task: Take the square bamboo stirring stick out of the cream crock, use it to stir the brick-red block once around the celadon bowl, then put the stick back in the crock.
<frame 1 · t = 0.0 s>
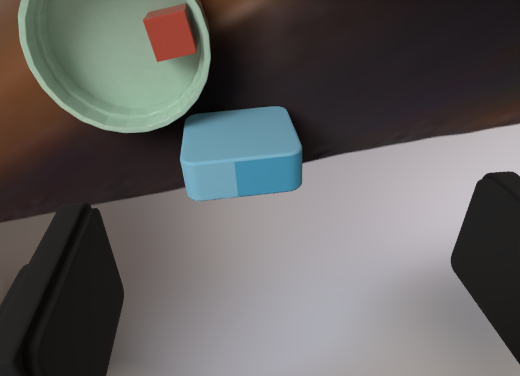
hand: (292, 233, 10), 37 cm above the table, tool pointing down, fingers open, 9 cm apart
bowl: (127, 37, 41), on the table
block: (173, 28, 41), resting on bowl
data package: (237, 125, 48), on the table
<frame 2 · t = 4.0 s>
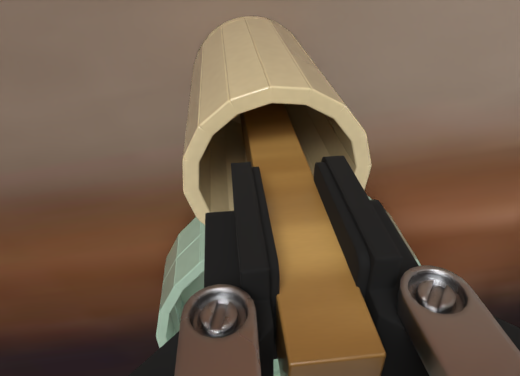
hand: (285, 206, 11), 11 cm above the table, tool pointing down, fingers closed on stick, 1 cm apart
bowl: (284, 274, 29), on the table
crock: (250, 75, 20), on the table
stick: (251, 79, 20), point 1 cm above the table, touching crock, gripper
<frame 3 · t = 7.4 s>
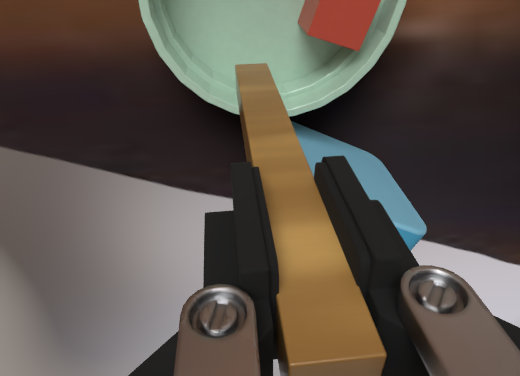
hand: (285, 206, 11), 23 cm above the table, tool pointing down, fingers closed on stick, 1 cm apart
block: (330, 3, 30), resting on bowl
stick: (251, 79, 20), point 13 cm above the table, touching gripper
data package: (314, 153, 38), on the table
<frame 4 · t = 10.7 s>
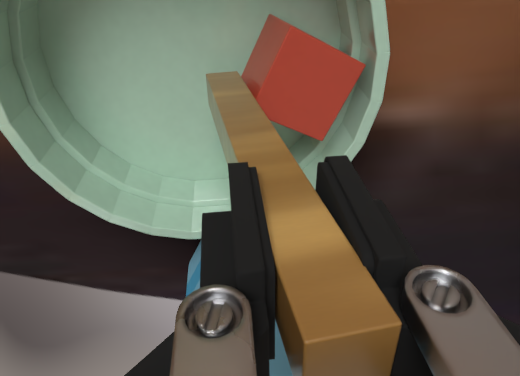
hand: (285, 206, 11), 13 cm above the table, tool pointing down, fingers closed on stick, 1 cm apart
bowl: (196, 55, 21), on the table
block: (285, 67, 21), point 1 cm above the table, tilted 8°, touching bowl, stick
stick: (222, 88, 20), point 2 cm above the table, tilted 8°, touching block, gripper
data package: (274, 250, 30), on the table
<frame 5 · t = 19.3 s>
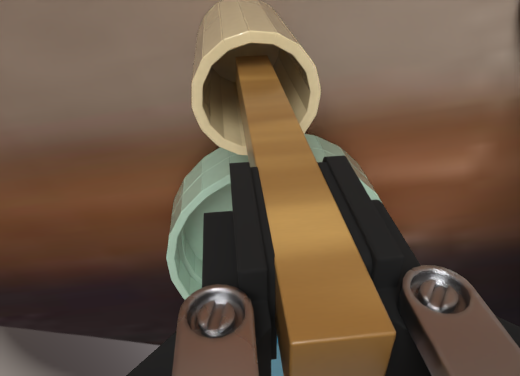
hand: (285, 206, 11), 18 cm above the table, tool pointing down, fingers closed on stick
bowl: (272, 218, 34), on the table
crock: (241, 43, 26), on the table
stick: (251, 72, 19), point 7 cm above the table, touching gripper
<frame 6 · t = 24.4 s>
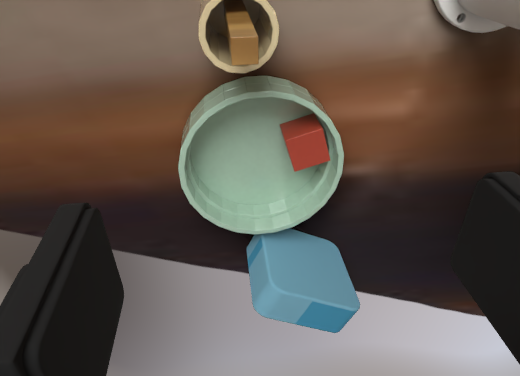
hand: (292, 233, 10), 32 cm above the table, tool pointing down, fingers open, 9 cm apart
bowl: (257, 148, 45), on the table
crock: (232, 9, 37), on the table
block: (300, 134, 44), point 1 cm above the table, touching bowl
stick: (232, 5, 36), point 1 cm above the table, touching crock
data package: (291, 241, 54), on the table
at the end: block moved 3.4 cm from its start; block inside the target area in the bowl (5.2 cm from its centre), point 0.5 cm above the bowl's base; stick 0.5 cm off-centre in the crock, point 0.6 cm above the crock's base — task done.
